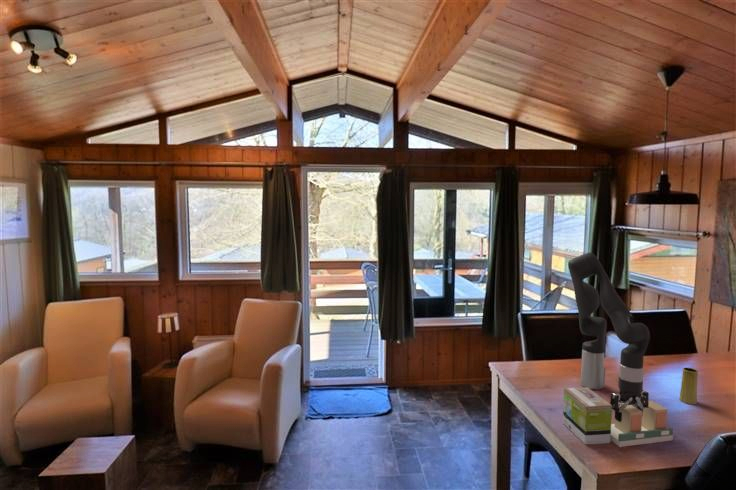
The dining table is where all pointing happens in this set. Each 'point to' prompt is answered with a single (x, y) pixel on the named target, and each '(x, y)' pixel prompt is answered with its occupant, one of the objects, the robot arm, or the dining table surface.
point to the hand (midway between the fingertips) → (628, 419)
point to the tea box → (587, 415)
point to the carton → (629, 420)
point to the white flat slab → (640, 436)
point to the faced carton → (654, 416)
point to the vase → (689, 386)
